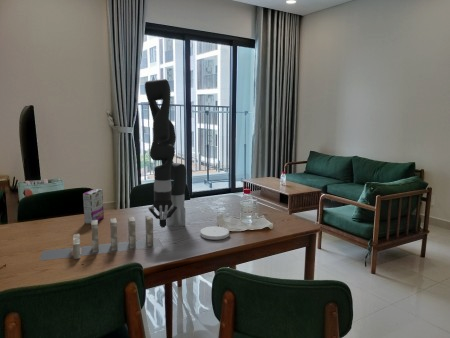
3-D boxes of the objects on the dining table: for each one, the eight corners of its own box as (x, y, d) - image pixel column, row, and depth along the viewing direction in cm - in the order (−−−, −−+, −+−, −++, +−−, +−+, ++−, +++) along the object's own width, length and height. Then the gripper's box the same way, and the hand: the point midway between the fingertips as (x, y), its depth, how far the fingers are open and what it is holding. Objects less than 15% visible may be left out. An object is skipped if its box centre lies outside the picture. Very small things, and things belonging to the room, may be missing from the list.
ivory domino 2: (116, 244, 148) (115, 218, 146) (117, 249, 143) (116, 222, 141) (111, 245, 147) (110, 218, 145) (111, 250, 142) (110, 223, 140)
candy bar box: (95, 217, 188) (94, 188, 185) (104, 218, 187) (103, 189, 184) (83, 223, 177) (82, 193, 174) (92, 224, 176) (91, 193, 173)
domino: (79, 233, 143) (79, 243, 132) (80, 246, 144) (80, 258, 133) (73, 234, 142) (72, 244, 131) (74, 247, 143) (73, 259, 132)
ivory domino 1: (98, 246, 146) (97, 219, 144) (98, 251, 140) (97, 224, 138) (92, 247, 145) (91, 220, 143) (92, 252, 139) (91, 224, 137)
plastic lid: (206, 243, 155) (206, 238, 155) (196, 233, 168) (196, 228, 167) (233, 239, 161) (234, 234, 161) (221, 229, 174) (221, 225, 173)
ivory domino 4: (151, 240, 154) (150, 215, 152) (153, 245, 148) (153, 219, 146) (145, 241, 153) (145, 215, 151) (147, 246, 147) (147, 219, 145)
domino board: (158, 240, 157) (158, 237, 157) (162, 248, 148) (162, 245, 148) (42, 253, 140) (42, 250, 140) (39, 263, 131) (39, 260, 130)
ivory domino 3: (134, 242, 151) (133, 216, 149) (135, 247, 145) (135, 220, 143) (128, 243, 150) (128, 217, 148) (130, 248, 145) (129, 221, 143)
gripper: (175, 186, 154) (175, 223, 157) (146, 188, 149) (146, 225, 152) (179, 190, 147) (179, 228, 150) (148, 192, 143) (149, 231, 145)
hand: (162, 226), depth 151 cm, fingers closed
